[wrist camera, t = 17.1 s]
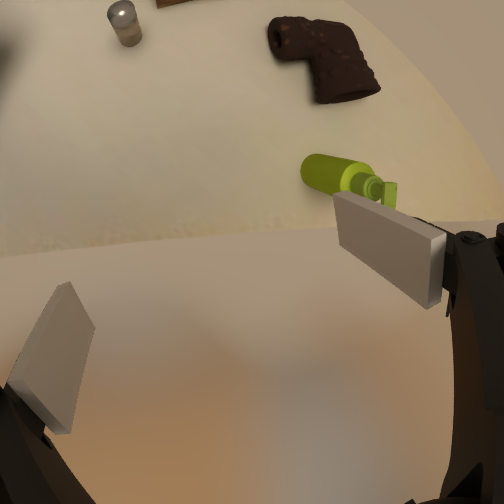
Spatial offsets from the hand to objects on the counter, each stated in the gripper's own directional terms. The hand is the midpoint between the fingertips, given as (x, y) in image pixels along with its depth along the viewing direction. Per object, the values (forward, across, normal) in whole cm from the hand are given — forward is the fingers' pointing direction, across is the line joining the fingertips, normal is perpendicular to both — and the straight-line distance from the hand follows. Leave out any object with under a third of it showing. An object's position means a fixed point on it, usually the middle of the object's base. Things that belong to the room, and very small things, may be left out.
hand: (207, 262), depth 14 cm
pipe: (+35, +26, +13) cm, 45 cm away
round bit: (+35, -2, +24) cm, 42 cm away
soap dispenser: (+35, +21, -6) cm, 41 cm away
